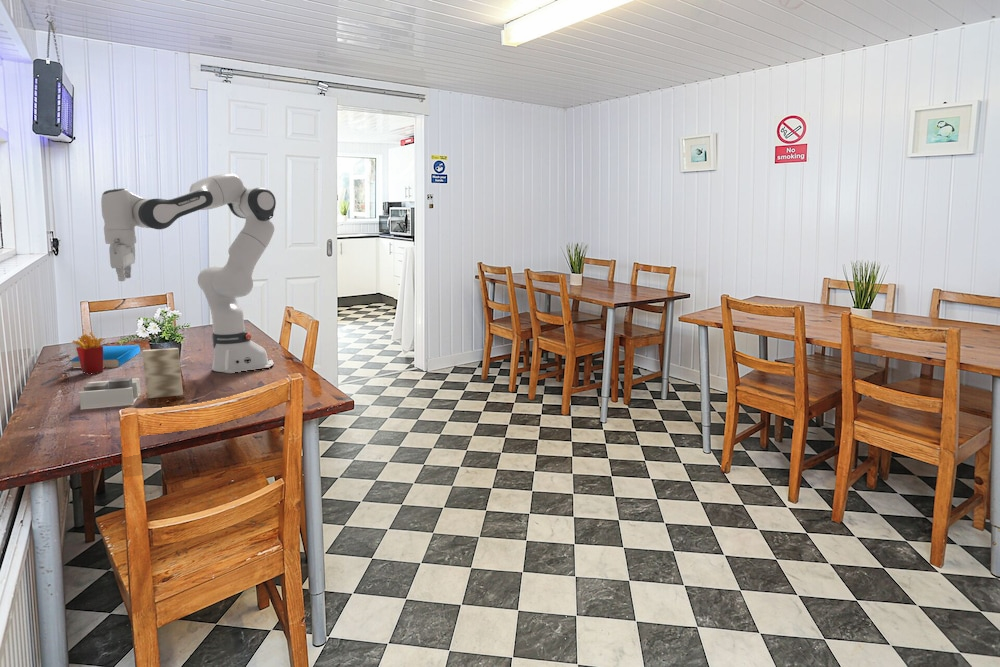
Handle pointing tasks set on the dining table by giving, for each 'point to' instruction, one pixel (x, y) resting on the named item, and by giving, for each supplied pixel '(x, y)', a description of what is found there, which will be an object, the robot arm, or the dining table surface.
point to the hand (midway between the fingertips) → (125, 279)
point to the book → (113, 355)
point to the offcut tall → (120, 383)
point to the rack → (110, 396)
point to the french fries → (90, 354)
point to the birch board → (162, 372)
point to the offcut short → (96, 386)
